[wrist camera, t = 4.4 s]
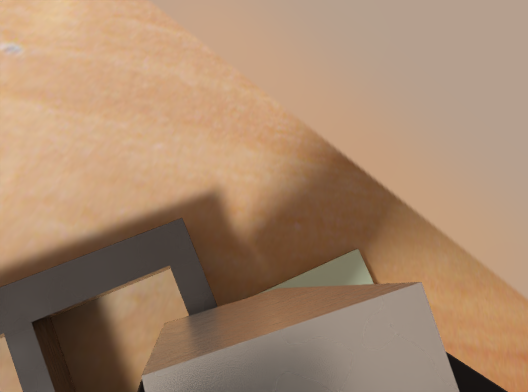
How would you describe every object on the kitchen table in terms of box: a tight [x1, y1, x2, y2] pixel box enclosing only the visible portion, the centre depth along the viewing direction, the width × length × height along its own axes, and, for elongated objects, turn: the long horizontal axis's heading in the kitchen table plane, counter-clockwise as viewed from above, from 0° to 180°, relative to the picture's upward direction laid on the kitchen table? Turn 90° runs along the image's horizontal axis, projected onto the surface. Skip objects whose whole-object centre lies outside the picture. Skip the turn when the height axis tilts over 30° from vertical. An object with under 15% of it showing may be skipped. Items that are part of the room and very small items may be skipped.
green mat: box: [254, 249, 374, 296], centre depth 21 cm, size 8×7×1 cm
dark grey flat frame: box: [0, 218, 217, 392], centre depth 17 cm, size 9×15×2 cm, turn 114°
